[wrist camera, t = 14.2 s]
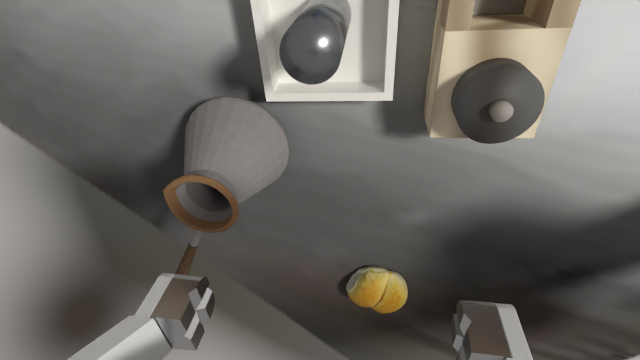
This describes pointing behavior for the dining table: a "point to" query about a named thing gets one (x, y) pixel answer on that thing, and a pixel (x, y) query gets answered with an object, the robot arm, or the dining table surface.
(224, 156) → the coffee pot
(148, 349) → the robot arm
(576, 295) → the dining table surface
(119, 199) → the dining table surface
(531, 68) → the plate
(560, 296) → the dining table surface
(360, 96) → the tray
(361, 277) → the bread roll
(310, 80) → the pin
